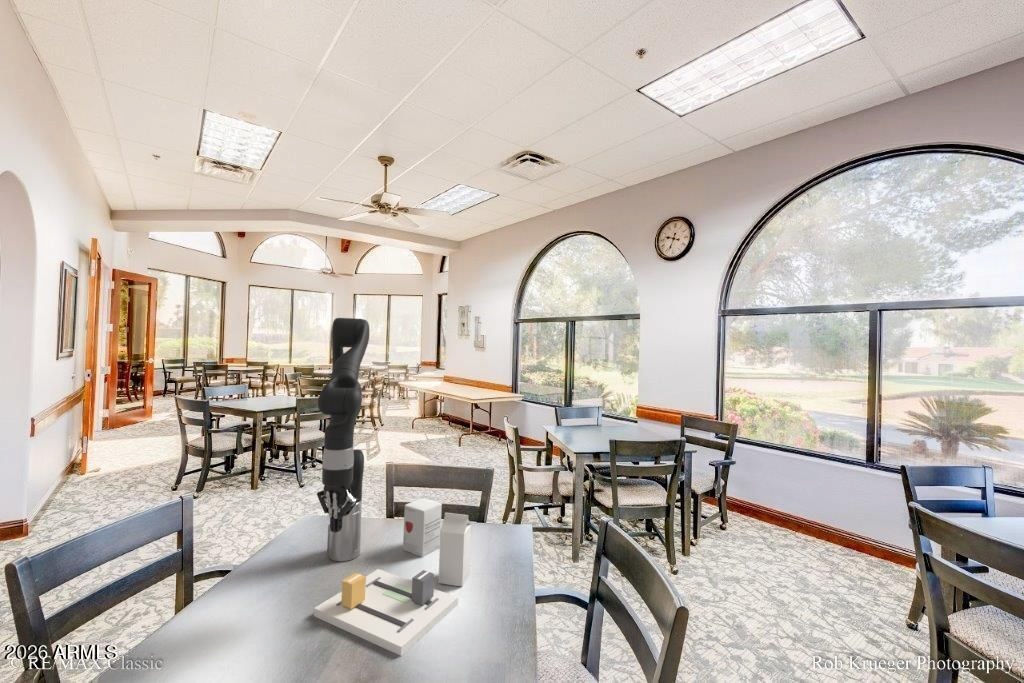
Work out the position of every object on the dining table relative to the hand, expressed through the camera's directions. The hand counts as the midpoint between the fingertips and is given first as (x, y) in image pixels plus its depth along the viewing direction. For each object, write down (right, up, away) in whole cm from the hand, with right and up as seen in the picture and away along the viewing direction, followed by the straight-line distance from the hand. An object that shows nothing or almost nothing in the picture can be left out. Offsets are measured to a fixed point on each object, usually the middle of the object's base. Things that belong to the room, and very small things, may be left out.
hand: (335, 530), depth 116 cm
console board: (+14, -20, -2) cm, 24 cm away
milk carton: (+29, -20, +14) cm, 38 cm away
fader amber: (+6, -17, -3) cm, 18 cm away
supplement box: (+16, -20, +32) cm, 41 cm away
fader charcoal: (+23, -17, -1) cm, 29 cm away
